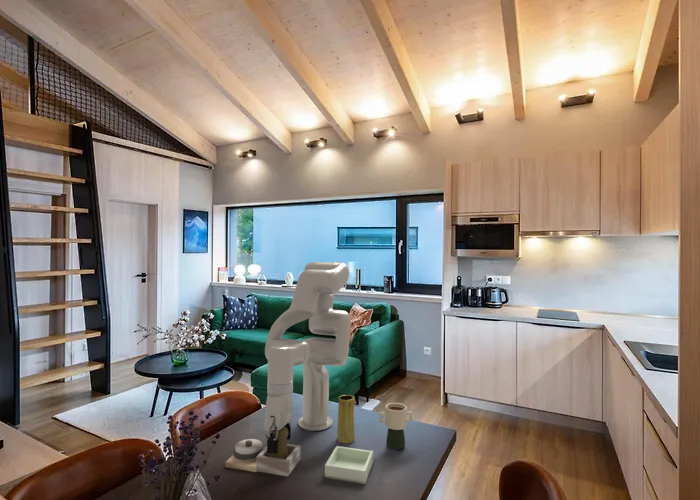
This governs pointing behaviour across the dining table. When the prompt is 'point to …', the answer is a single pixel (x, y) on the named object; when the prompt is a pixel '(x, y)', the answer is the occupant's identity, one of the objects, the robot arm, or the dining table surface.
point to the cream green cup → (396, 424)
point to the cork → (281, 444)
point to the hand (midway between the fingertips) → (279, 445)
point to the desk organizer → (262, 458)
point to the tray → (349, 464)
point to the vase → (346, 419)
